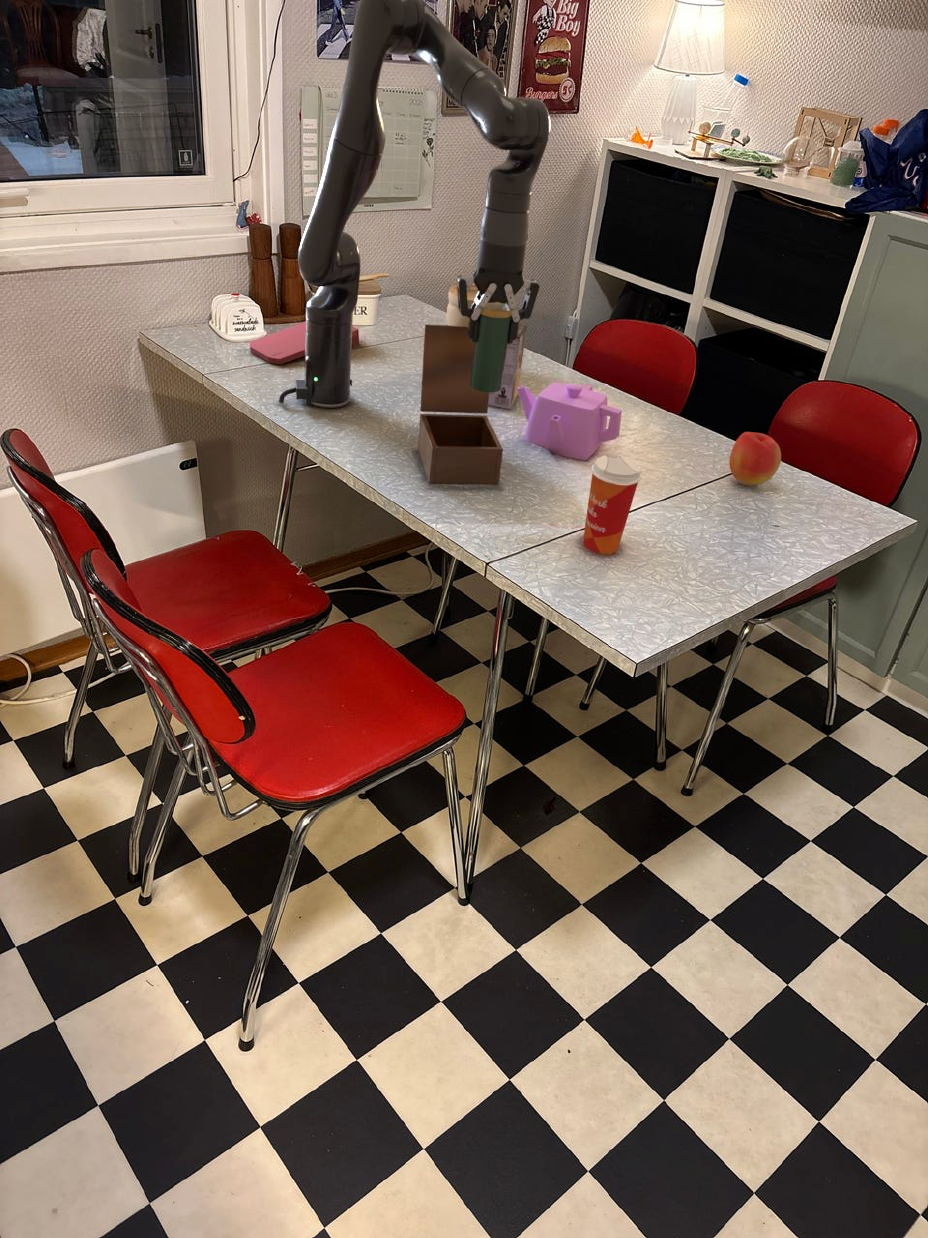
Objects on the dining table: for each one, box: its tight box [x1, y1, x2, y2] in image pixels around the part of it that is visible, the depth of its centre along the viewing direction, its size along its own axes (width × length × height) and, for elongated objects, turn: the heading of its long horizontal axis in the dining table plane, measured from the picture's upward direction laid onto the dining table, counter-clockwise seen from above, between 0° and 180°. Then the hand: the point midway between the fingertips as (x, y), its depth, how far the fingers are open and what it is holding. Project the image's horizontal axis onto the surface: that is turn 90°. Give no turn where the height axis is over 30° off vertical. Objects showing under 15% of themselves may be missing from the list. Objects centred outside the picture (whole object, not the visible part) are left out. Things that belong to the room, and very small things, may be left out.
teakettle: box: [517, 381, 623, 461], centre depth 190 cm, size 17×17×12 cm
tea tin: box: [470, 302, 512, 392], centre depth 162 cm, size 6×6×14 cm
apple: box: [728, 431, 782, 487], centre depth 184 cm, size 10×10×10 cm
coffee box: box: [488, 322, 528, 410], centre depth 204 cm, size 9×6×16 cm
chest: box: [417, 413, 504, 486], centre depth 176 cm, size 15×13×8 cm
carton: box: [249, 321, 361, 365], centre depth 221 cm, size 12×5×25 cm
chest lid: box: [419, 323, 489, 414], centre depth 176 cm, size 16×13×1 cm
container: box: [445, 283, 479, 326], centre depth 216 cm, size 13×13×18 cm
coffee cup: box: [582, 454, 643, 555], centre depth 156 cm, size 8×8×15 cm
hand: (491, 340), depth 162 cm, fingers closed on tea tin, 5 cm apart
